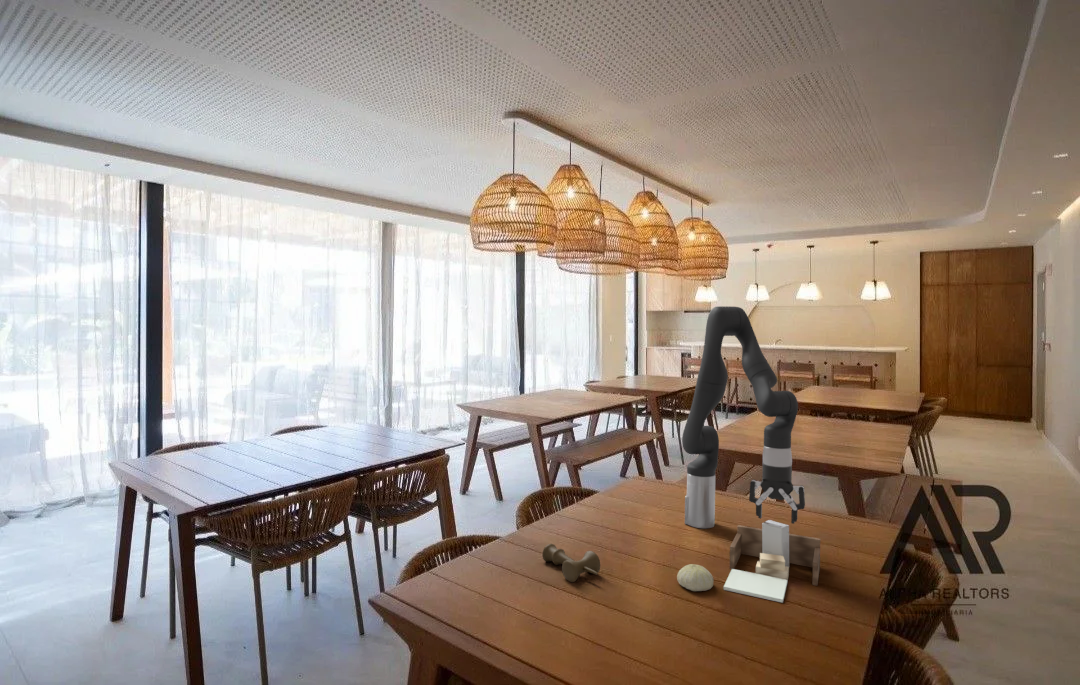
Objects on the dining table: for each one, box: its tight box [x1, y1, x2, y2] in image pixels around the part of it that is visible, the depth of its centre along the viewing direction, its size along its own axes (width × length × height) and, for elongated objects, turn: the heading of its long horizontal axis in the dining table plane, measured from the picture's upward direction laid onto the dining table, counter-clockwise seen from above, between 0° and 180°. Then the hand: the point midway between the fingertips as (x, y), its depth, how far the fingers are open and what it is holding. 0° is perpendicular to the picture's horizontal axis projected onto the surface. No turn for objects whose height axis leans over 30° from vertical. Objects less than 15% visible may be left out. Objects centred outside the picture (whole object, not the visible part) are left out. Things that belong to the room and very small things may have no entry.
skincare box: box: [761, 519, 790, 568], centre depth 159 cm, size 6×4×12 cm
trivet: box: [723, 568, 789, 604], centre depth 147 cm, size 14×12×1 cm
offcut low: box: [755, 560, 790, 580], centre depth 154 cm, size 8×4×2 cm, turn 62°
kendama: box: [542, 543, 601, 583], centre depth 155 cm, size 6×10×20 cm
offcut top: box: [759, 553, 785, 571], centre depth 154 cm, size 6×4×2 cm, turn 73°
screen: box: [729, 524, 821, 587], centre depth 158 cm, size 22×13×8 cm, turn 62°
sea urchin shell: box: [676, 563, 714, 592], centre depth 147 cm, size 9×8×8 cm
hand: (776, 520), depth 158 cm, fingers open, 8 cm apart
